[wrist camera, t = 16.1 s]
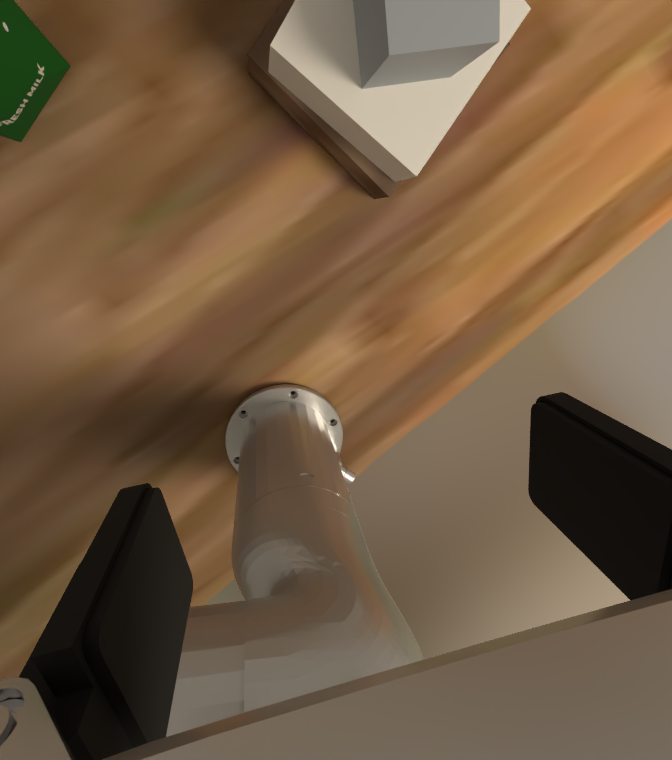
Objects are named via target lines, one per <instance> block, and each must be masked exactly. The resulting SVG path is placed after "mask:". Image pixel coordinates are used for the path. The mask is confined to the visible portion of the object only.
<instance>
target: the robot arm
mask: <svg viewBox="0 0 672 760" xmlns="http://www.w3.org/2000/svg"><path fill="white" fill-rule="evenodd" d="M291 391H295V393H291ZM242 411H246V412H244V413H243V412H242ZM332 419H334V420H333V421H330V420H332ZM342 442H343V430H342V425H341V421H340V419H339V416H338V414H337V412H336V410H335V409H334V407H333V405H332V404H331V403H330V402H329V401H328V400H327V399H326V398H325V397H324V396H322V395H321V394H319V393H318V392H316V391H314V390H312V389H310V388H307V387H303V386H299V385H291V384H281V385H273V386H270V387H266V388H263V389H261V390H259V391H257V392H255V393H253V394H251V395H250V396H248V397H247V398H246V399H244V400H243V401H242V402H241V403H240V404H239V406H238V407H237V408H236V409H235V411H234V412H233V414H232V416H231V417H230V420H229V423H228V426H227V430H226V436H225V447H226V451H227V455H228V458H229V460H230V462H231V464H232V466H233V467H234V468H235V470H236V471H237V472H238V480H237V493H236V505H235V518H234V531H233V540H232V566H233V571H234V576H235V579H236V581H237V584H238V586H239V589H240V591H241V593H242V595H243V597H244V598H245V600H246V601H238V602H230V603H221V604H212V605H204V606H195V607H190V602H191V597H192V591H193V579H192V574H191V571H190V569H189V566H188V563H187V560H186V558H185V555H184V552H183V549H182V547H181V544H180V541H179V538H178V536H177V533H176V530H175V527H174V525H173V522H172V519H171V516H170V514H169V511H168V508H167V506H166V503H165V500H164V497H163V495H162V492H161V490H160V489H159V488H158V487H157V488H152V487H151V485H150V484H148V483H146V484H141V485H137V486H132V487H128V488H123V489H121V490H120V491H119V493H118V495H117V497H116V499H115V500H114V502H113V504H112V506H111V508H110V510H109V512H108V514H107V515H106V517H105V519H104V521H103V523H102V525H101V527H100V529H99V530H98V532H97V534H96V536H95V538H94V540H93V542H92V543H91V545H90V547H89V549H88V551H87V553H86V555H85V557H84V558H83V560H82V562H81V563H80V564H79V566H78V568H77V570H76V572H75V574H74V575H73V577H72V579H71V581H70V583H69V585H68V587H67V588H66V590H65V592H64V594H63V596H62V598H61V600H60V602H59V603H58V605H57V607H56V609H55V611H54V613H53V615H52V616H51V618H50V620H49V622H48V624H47V626H46V628H45V629H44V631H43V633H42V635H41V637H40V639H39V641H38V643H37V644H36V646H35V648H34V650H33V652H32V654H31V656H30V657H29V659H28V661H27V663H26V665H25V667H24V669H23V671H22V672H21V674H20V676H19V677H16V678H10V679H5V680H1V681H0V760H672V450H671V449H669V448H667V447H666V446H664V445H662V444H660V443H658V442H656V441H654V440H652V439H651V438H649V437H647V436H645V435H643V434H641V433H639V432H637V431H635V430H634V429H632V428H630V427H628V426H626V425H624V424H622V423H620V422H618V421H617V420H615V419H613V418H611V417H609V416H607V415H605V414H603V413H601V412H600V411H598V410H596V409H594V408H592V407H590V406H588V405H587V404H585V403H583V402H581V401H579V400H577V399H575V398H573V397H571V396H570V395H568V394H566V393H562V392H561V393H555V394H551V395H547V396H542V397H539V398H538V399H537V401H536V404H534V405H533V406H532V408H531V427H530V458H529V488H528V489H529V496H530V498H531V500H532V502H533V503H534V505H536V507H537V508H538V509H540V511H541V512H542V513H543V514H544V515H545V516H547V518H548V519H550V521H551V522H552V523H553V524H555V525H556V527H557V528H558V529H559V530H560V531H562V533H563V534H564V535H565V536H566V537H567V538H568V539H570V540H571V542H573V544H574V545H576V547H578V548H579V549H580V550H581V551H582V552H583V553H584V554H585V555H586V556H587V557H588V558H589V559H590V560H591V561H592V562H593V563H594V564H595V565H596V566H597V567H598V568H599V569H600V570H601V571H602V572H603V573H604V574H605V575H606V576H607V577H608V578H609V579H610V580H611V581H612V582H613V583H614V584H615V585H616V586H617V587H618V588H619V589H620V590H621V591H622V592H623V593H624V594H625V595H626V596H627V597H628V598H629V599H630V600H631V601H627V602H624V603H620V604H617V605H613V606H609V607H606V608H602V609H599V610H596V611H592V612H588V613H585V614H581V615H578V616H574V617H570V618H567V619H564V620H560V621H556V622H553V623H550V624H546V625H542V626H539V627H535V628H532V629H528V630H525V631H521V632H518V633H514V634H511V635H507V636H504V637H500V638H497V639H494V640H490V641H486V642H483V643H480V644H476V645H473V646H469V647H466V648H462V649H459V650H455V651H452V652H448V653H445V654H441V655H439V656H435V657H431V658H428V659H424V658H423V655H422V653H421V651H420V648H419V646H418V644H417V642H416V640H415V638H414V636H413V634H412V632H411V630H410V628H409V626H408V625H407V623H406V621H405V619H404V617H403V616H402V614H401V613H400V611H399V609H398V608H397V606H396V604H395V603H394V601H393V599H392V598H391V596H390V594H389V593H388V591H387V589H386V587H385V586H384V584H383V582H382V580H381V578H380V576H379V574H378V572H377V570H376V568H375V566H374V563H373V561H372V558H371V556H370V554H369V551H368V548H367V546H366V542H365V540H364V537H363V534H362V531H361V528H360V525H359V522H358V519H357V516H356V513H355V510H354V507H353V504H352V501H351V498H350V492H349V491H348V489H347V486H346V483H348V484H349V483H351V482H353V480H354V478H355V473H354V472H352V471H351V470H349V469H348V468H346V467H344V466H342V462H341V459H340V456H339V453H340V451H341V446H342ZM237 457H239V458H237ZM345 482H346V483H345Z"/></svg>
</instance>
